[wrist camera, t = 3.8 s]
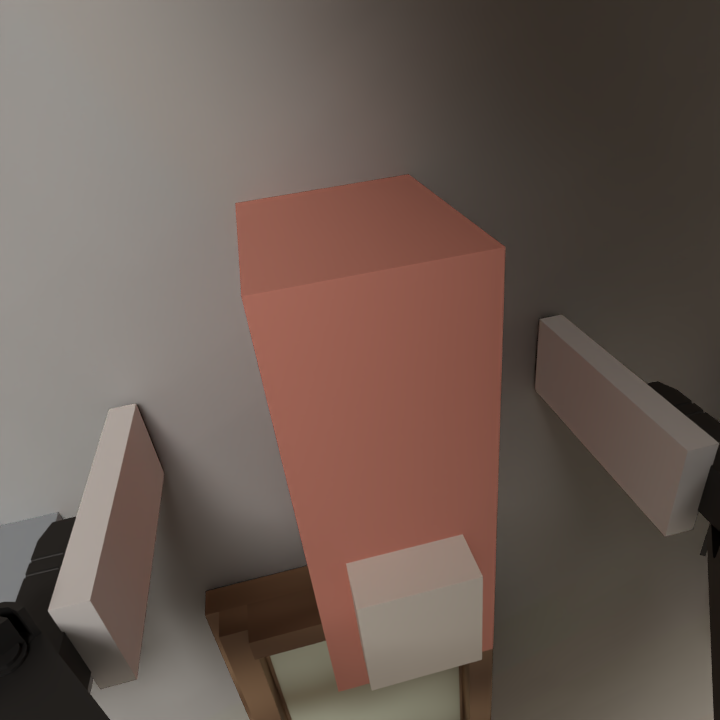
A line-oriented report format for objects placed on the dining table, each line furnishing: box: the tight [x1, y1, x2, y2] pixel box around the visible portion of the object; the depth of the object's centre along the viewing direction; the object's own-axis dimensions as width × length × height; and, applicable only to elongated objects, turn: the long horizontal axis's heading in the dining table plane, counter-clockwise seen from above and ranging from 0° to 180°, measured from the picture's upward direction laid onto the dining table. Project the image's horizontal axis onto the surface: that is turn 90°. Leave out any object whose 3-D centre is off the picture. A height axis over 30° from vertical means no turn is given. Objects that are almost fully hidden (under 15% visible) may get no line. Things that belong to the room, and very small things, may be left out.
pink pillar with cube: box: [235, 174, 505, 692], centre depth 14 cm, size 12×4×7 cm, turn 6°
